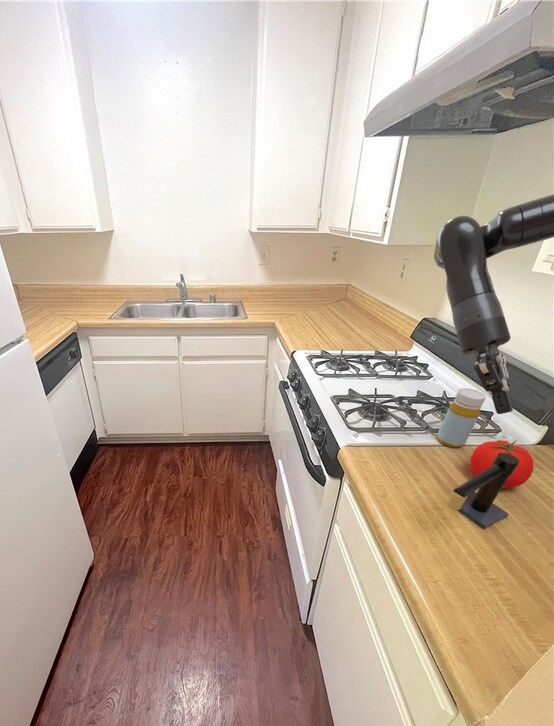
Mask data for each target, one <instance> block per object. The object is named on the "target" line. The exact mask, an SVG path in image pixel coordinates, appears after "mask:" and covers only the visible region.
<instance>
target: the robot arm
mask: <svg viewBox="0 0 554 726" xmlns="http://www.w3.org/2000/svg"><path fill="white" fill-rule="evenodd" d="M553 238H554V193H553V194H550V195H545V196H543V197H540V198H539V197H538V198H536V199H533V200H530V201H527V202H524V203H520V204H516V205H514V206H511V207H507V208H505V209H504V210H501V211H500V212H498V213H497V214H496V215H495V216H494V217H493V218H492V220H490V221H489V222H487V223H485V224H483V225H480V223H479V222H478V220H476V219H475V218H473V217H471V216H468V215H458V216H455V217H453V218H450V219H449V220H448V221H447V222H446V223H444V225H443V226H442V227H441V228H440V229H439V232H438V234H437V237H436V240H435V246H434V251H433V259H434V263H435V264H436V266H437V267H438V268H440V269H442V270H444V272H445V276H446V281H445V282H446V283H445V288H446V289H445V290H446V294H447V299H448V302H449V303H448V304H449V306H450V309H451V314H452V322H453V325H454V329H455V333H456V336H457V340H458V343H459V347H460V350H461V353H462V355H466V356H467V355H475V359H476V360H474V366H473V369H474V371H475V372H476V374H477V376H478V378H479V380H480V382H481V384H482V386H483V389H484V391H485V392H488V394H489V396H491V399H492V402H493V406H494V409H495V413H496V414H497V415H503V414H507V413H512V412H513V410H514V408H513V404H512V401H511V398H510V395H509V390H510V388H511V382H510V373H509V365H508V364H507V359H506V355H505V354H504V353H500V350H499V347H500V346H503V345H505V344H507V343H508V342H509V341H510V340H511V333H510V330H509V327H508V323H507V321H506V318H505V314H504V311H503V307H502V305H501V301H500V299H499V297H498V296H497V292H496V290H495V287H494V284H493V280H492V278H491V277H492V276H491V275H490V273H489V268H488V260H487V259H490V258H492V257H494V256H496V255H498V254H500V253H503V252H505V251H507V250H513V249H518V248H521V247H525V246H529V245H533V244H536V243H539V242H543V241H547V240H550V239H553Z"/></svg>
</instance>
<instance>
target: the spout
mask: <svg viewBox="0 0 554 726" xmlns="http://www.w3.org/2000/svg"><path fill="white" fill-rule="evenodd" d="M518 464H519V460H518V458H516V457H515V456H513V455H511V454H508V453H498V454H497V456H496V458H495V459H494V461H493V463H492V465H491V467H490V468H488V469H486V470H485V471H483V472H482V473H480V474H478V475H477V476H475V475H474V477H472V478H470V479H469V480H467V481H465V482H464V483H462V484H460V485H459V486H457V487H455V488H454V489H453V490H452V492H451V494H450V496H449V498H448V500H447V502H446V505H447V506H448V508H450V509H451V510H453V511H458V510H460V509H461V507H462V505H463V503H464V501H465V500H466V498H467V496H468V495H470V494H471V493H473V492H474V491H475V492H477V491H478V490H479V488H480V487H482V486H484V485H485V484H487V483H488V482H490V481H491V480H493V479H494V478H496V477H497V476H499V475H500V474H501V475H505V476H510V475H512V473H513V472H514V470H515V469H516V467H517V465H518Z"/></svg>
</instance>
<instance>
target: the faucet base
mask: <svg viewBox="0 0 554 726" xmlns="http://www.w3.org/2000/svg"><path fill="white" fill-rule="evenodd" d="M508 477H509V476H505V475H501V474H500V475H499V476H497V477H496V478H494V479H493V480H491V481H490V482H488V483H487V484H485V485H484V486H482V487H480V488H479V489H477V490H476V491H474V492H473V493H471V494H470V495H468V496H467V498H466V500H465V501H464V503H463V505H462V507H461V509H460V510H457V511H458V513H460V514H461V515H463V516H464V517H466V518H467V519H469V520H470V521H471V522H472V523H474V524H475V525H477V526H478V527H480V528H481V529H482V530H485V529H487V528H490V527H491V526H493V525H495V524H497V523H500V521H503V520H504V519H507V518H508V517H509V515H510V513H509V512H507V511H505V510H504V509H502V508H501V507H499V506H498V505H497V504H495V503H494V502H495V500H496V499H497V497H498V495H499V494H500V492H501V490H502V489H503V488H502V487H503V485H504V484H505V482H506V481H507V479H508Z"/></svg>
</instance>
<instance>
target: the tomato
mask: <svg viewBox="0 0 554 726" xmlns="http://www.w3.org/2000/svg"><path fill="white" fill-rule="evenodd" d="M517 441H518V440H514V441H513V442H511V443H510V442H509V441H508V440H502V439H497V440H491V441H484V442H482V443H481V444H479V445H478V446H476V448H475V449H474V450H473V451H472V454H471V456H470V459H469V467H470V471H471V472H472V475H474V477H475V476H477V475H478V474H480V473H482V472H483V471H485V470H486V469H488V468H490V467H491V465H492V463H493V461H494V459H495V458H496V456H497V454H498V453H508V454H511V455H513V456H515V457H516V458H518V460H519V464H518V465H517V467H516V469H515V470H514V472H513V473H512V475H510V476H509V477H508V479H507V481H506V482H505V484H504V485H503V487H502V489H507V488H515V487H519V486H522V485H524V484H525V483H526V482H527V481H528V480H529V479H530V478H531V476H532V474H533V472H534V458H533V457H532V455H531V453H530V452H529V451H528V449H527V448H524V447H522V446H520V445H514V444H516V442H517Z"/></svg>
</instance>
